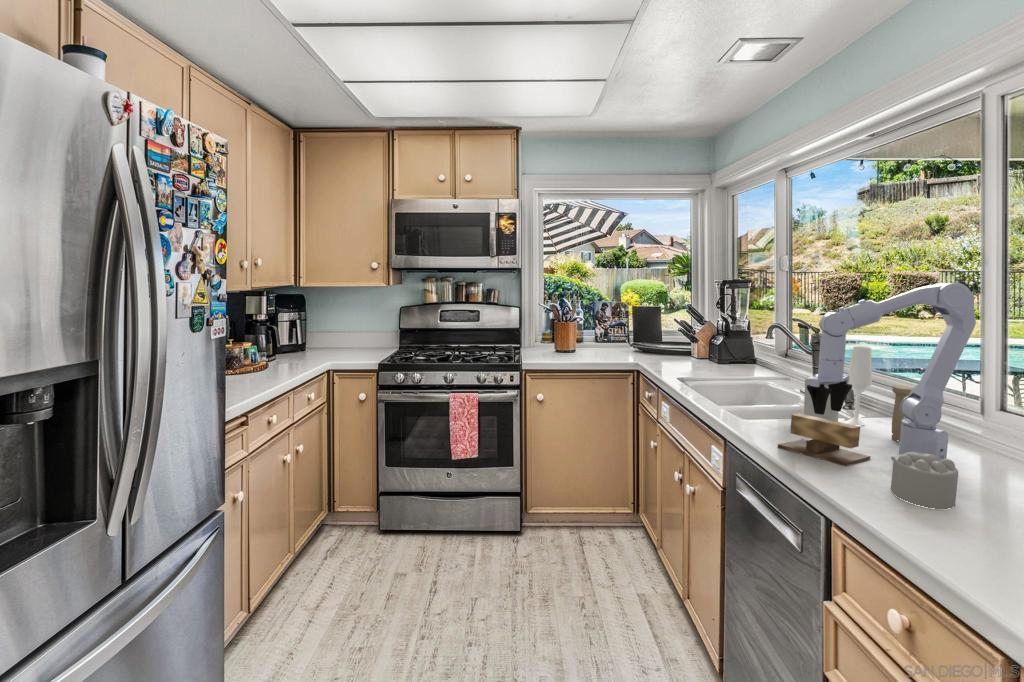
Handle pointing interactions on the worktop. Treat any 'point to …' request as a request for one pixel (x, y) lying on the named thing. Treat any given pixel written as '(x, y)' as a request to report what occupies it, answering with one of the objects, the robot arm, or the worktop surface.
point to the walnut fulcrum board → (824, 451)
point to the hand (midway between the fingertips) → (827, 412)
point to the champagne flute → (859, 377)
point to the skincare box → (809, 407)
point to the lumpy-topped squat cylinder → (925, 480)
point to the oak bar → (825, 430)
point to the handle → (898, 409)
